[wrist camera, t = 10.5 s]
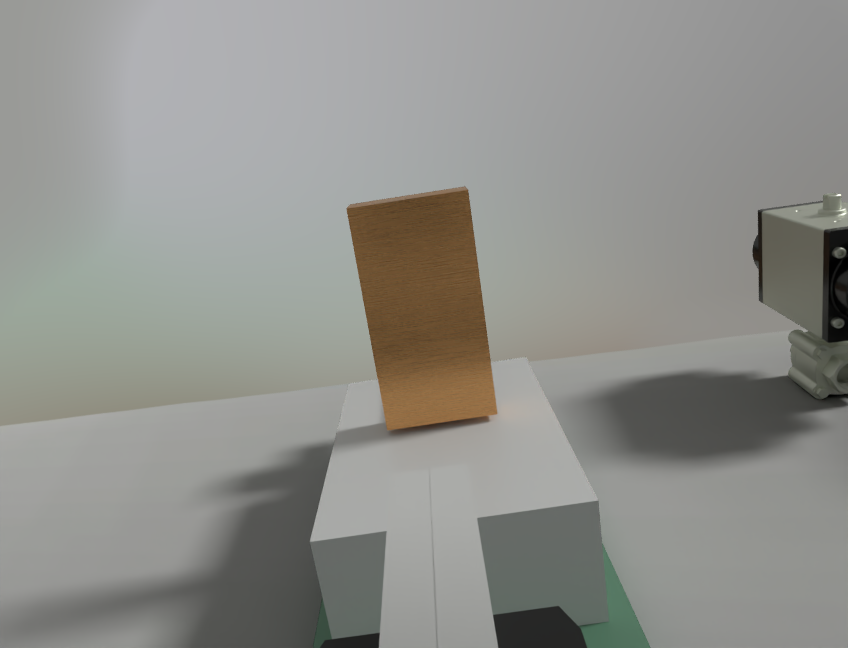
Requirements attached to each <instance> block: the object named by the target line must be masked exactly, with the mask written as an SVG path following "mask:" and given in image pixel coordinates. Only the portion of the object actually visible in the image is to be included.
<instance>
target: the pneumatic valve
mask: <svg viewBox="0 0 848 648" xmlns="http://www.w3.org/2000/svg"><path fill="white" fill-rule="evenodd" d="M753 259H754V262H755V264H756V266H757V268H758V269H759V301H760V302H762V303H763V304H765V305H767V306H768V307H770V308H772V309H774V310H775V311H777V312H778V313H780V314H782V315H783V316H785V317H787V318H788V319H790V320H792V321H793V322H795V323H796V324H798V325H800V326H802V327H803V328H805V329H806V330H808V332H803V331H801V330H794V331H792V332H791V333H790V334H789V336H788V340H789V342H790V343H791V344H792V346H791V348H790V352H791V362H792V367H791V368H790V370H789V372H788V375H789V377H790V378H791V379H792V380H793V381H794V382H796V383H797V384H798V385H799V386H801V387H802V388H803V389H805V390H806V391H807V392H808V393H810V394H811V395H812V396H814V397H815V398H817V399H823V398H825V397H827V396H828V395H829V394H848V203H846V202H841V195H840V194H836V193H830V194H825V195H823V201H818V202H812V203H804V204H797V205H790V206H783V207H776V208H769V209H761V210H758V235H757V237H756V239H755V241H754V245H753Z"/></svg>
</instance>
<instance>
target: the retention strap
mask: <svg viewBox="0 0 848 648" xmlns="http://www.w3.org/2000/svg"><path fill="white" fill-rule="evenodd" d="M347 214H348V219H349V225H350V230H351V235H352V241H353V246H354V252H355V257H356V263H357V268H358V274H359V279H360V284H361V290H362V295H363V301H364V306H365V312H366V317H367V323H368V328H369V334H370V338H371V345H372V350H373V356H374V361H375V366H376V372H377V377H378V383H379V388H380V394H381V399H382V405H383V410H384V415H385V421H386V426H387V430H394V429H401V428H408V427H415V426H421V425H428V424H435V423H442V422H448V421H455V420H462V419H469V418H476V417H482V416H489V415H496V414H497V406H496V398H495V391H494V383H493V376H492V368H491V361H490V353H489V345H488V338H487V330H486V322H485V315H484V307H483V300H482V293H481V285H480V278H479V269H478V262H477V254H476V247H475V239H474V232H473V224H472V216H471V209H470V201H469V193H468V189H467V188H466V187H459V188H452V189H446V190H440V191H433V192H427V193H421V194H414V195H407V196H401V197H395V198H388V199H382V200H376V201H369V202H363V203H356V204H350V205H349V206H348V208H347Z"/></svg>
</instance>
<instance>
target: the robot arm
mask: <svg viewBox="0 0 848 648" xmlns="http://www.w3.org/2000/svg"><path fill="white" fill-rule="evenodd" d="M320 648H587V645H586V642H585V639H584V636H583V633H582V630H581V628H580V627H579V626H578V625H577V624H576V623H575V622H574V621H573V620H572V619H571V618H570V617H569V616H568V615H567V614H566V613H565V612H564V611H563V610H562V609H561V608H560V607H559V606H554V607H546V608H539V609H532V610H524V611H517V612H510V613H502V614H495V615H493V613H492V607H491V601H490V594H489V588H488V582H487V576H486V570H485V564H484V558H483V552H482V546H481V540H480V533H479V527H478V521H477V515H476V509H475V503H474V497H473V491H472V485H471V478H470V472H469V466H468V463H464V464H457V465H450V466H443V467H436V468H429V469H422V470H415V471H408V472H401V473H394V474H390V488H389V503H388V518H387V533H386V548H385V563H384V578H383V593H382V608H381V623H380V633H373V634H366V635H359V636H352V637H344V638H337V639H330V640H325V641H324V642H323V644H322V645H321V647H320Z"/></svg>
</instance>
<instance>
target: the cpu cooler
mask: <svg viewBox="0 0 848 648" xmlns="http://www.w3.org/2000/svg"><path fill="white" fill-rule="evenodd" d="M491 368H492V376H493V383H494V391H495V398H496V406H497V414H496V415H489V416H482V417H476V418H469V419H462V420H455V421H448V422H442V423H435V424H428V425H421V426H415V427H408V428H401V429H394V430H387V426H386V421H385V415H384V410H383V405H382V399H381V394H380V388H379V383H378V379H376V380H369V381H362V382H356V383H349V384H348V389H347V393H346V397H345V401H344V405H343V409H342V413H341V417H340V421H339V425H338V429H337V433H336V437H335V441H334V445H333V449H332V454H331V458H330V462H329V466H328V470H327V474H326V478H325V482H324V486H323V490H322V494H321V498H320V502H319V506H318V510H317V514H316V518H315V523H314V527H313V531H312V535H311V539H310V546H311V550H312V554H313V559H314V563H315V567H316V572H317V576H318V580H319V584H320V589H321V593H322V602H321V607H320V612H319V618H318V623H317V628H316V633H315V639H314V644H313V648H320V647H321V645H322V644H323V642H324V641H325V640H330V639H337V638H344V637H352V636H359V635H366V634H373V633H380V623H381V608H382V593H383V578H384V563H385V548H386V533H387V518H388V503H389V488H390V474H394V473H401V472H408V471H415V470H422V469H429V468H436V467H443V466H450V465H457V464H464V463H468V466H469V472H470V478H471V485H472V491H473V497H474V503H475V509H476V515H477V521H478V527H479V533H480V540H481V546H482V552H483V558H484V564H485V570H486V576H487V582H488V588H489V594H490V601H491V607H492V613H493V615H495V614H502V613H510V612H517V611H524V610H532V609H539V608H546V607H554V606H559V607H560V608H561V609H562V610H563V611H564V612H565V613H566V614H567V615H568V616H569V617H570V618H571V619H572V620H573V621H574V622H575V623H576V624H577V625H578V626H579V627H580V628H581V630H582V633H583V636H584V639H585V642H586V645H587V648H650V646H649V643H648V641H647V639H646V637H645V635H644V633H643V630H642V628H641V626H640V624H639V622H638V620H637V617H636V615H635V613H634V611H633V609H632V607H631V604H630V602H629V600H628V598H627V596H626V594H625V591H624V589H623V587H622V585H621V583H620V581H619V578H618V576H617V574H616V572H615V570H614V568H613V565H612V563H611V561H610V559H609V557H608V555H607V552H606V550H605V548H604V546H603V544H602V537H601V525H600V514H599V503H598V499H597V497H596V495H595V493H594V491H593V489H592V487H591V485H590V483H589V481H588V479H587V477H586V475H585V473H584V471H583V469H582V467H581V465H580V463H579V461H578V459H577V457H576V455H575V453H574V451H573V449H572V447H571V445H570V443H569V441H568V439H567V437H566V435H565V434H564V432H563V430H562V428H561V426H560V424H559V422H558V420H557V418H556V416H555V414H554V412H553V410H552V408H551V406H550V404H549V402H548V400H547V398H546V396H545V394H544V392H543V390H542V388H541V386H540V384H539V382H538V380H537V378H536V376H535V374H534V372H533V370H532V368H531V366H530V364H529V362H528V360H527V358H526V357H523V358H516V359H509V360H503V361H497V362H491Z"/></svg>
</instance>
